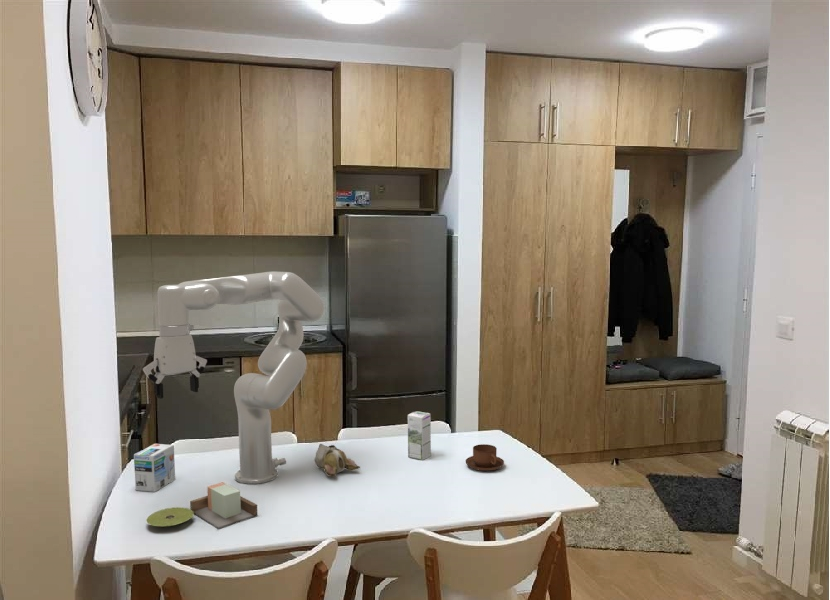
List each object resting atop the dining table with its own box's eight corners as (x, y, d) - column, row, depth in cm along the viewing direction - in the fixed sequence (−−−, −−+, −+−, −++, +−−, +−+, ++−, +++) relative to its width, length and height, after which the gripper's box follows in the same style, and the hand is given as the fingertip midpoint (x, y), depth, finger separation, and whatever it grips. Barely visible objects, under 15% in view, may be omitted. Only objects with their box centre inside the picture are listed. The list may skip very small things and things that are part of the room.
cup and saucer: (511, 466, 206) (511, 447, 205) (488, 476, 197) (488, 457, 197) (481, 458, 214) (481, 439, 213) (457, 467, 205) (457, 448, 205)
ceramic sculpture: (333, 435, 211) (362, 448, 199) (333, 461, 212) (361, 475, 201) (305, 442, 204) (332, 457, 192) (305, 469, 205) (332, 485, 194)
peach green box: (240, 513, 171) (240, 490, 170) (225, 518, 168) (224, 495, 167) (223, 503, 177) (222, 482, 177) (208, 508, 174) (207, 486, 174)
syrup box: (431, 455, 216) (431, 412, 215) (422, 460, 211) (421, 416, 210) (417, 452, 219) (416, 410, 218) (407, 457, 214) (406, 414, 213)
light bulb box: (155, 492, 187) (153, 455, 186) (134, 491, 188) (132, 454, 187) (176, 479, 198) (174, 444, 197) (156, 477, 199) (154, 443, 198)
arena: (228, 500, 181) (227, 489, 181) (257, 515, 170) (257, 504, 170) (190, 512, 173) (190, 501, 173) (218, 529, 163) (218, 517, 162)
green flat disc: (198, 513, 173) (197, 505, 172) (188, 532, 161) (188, 524, 161) (153, 515, 171) (153, 508, 171) (141, 534, 160) (140, 527, 160)
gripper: (198, 326, 183) (200, 387, 185) (135, 333, 171) (139, 397, 173) (211, 329, 178) (213, 391, 180) (148, 336, 166) (151, 402, 167)
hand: (177, 394), depth 176 cm, fingers open, 9 cm apart
